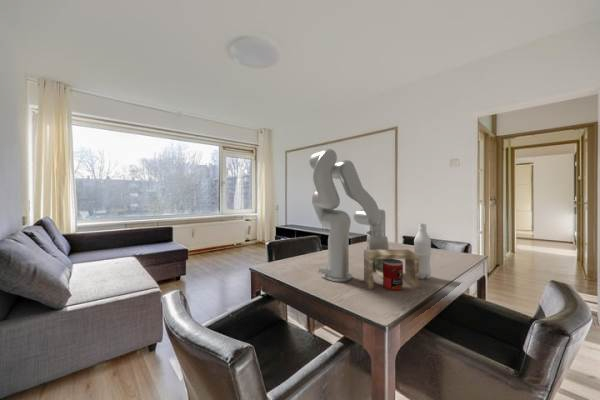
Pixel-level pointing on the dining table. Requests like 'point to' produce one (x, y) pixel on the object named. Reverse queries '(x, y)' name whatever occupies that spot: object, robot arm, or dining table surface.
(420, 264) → the water bottle
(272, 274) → the dining table surface
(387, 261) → the canned food
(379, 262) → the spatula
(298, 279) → the dining table surface
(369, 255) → the oak shelf
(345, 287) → the dining table surface
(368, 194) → the robot arm
